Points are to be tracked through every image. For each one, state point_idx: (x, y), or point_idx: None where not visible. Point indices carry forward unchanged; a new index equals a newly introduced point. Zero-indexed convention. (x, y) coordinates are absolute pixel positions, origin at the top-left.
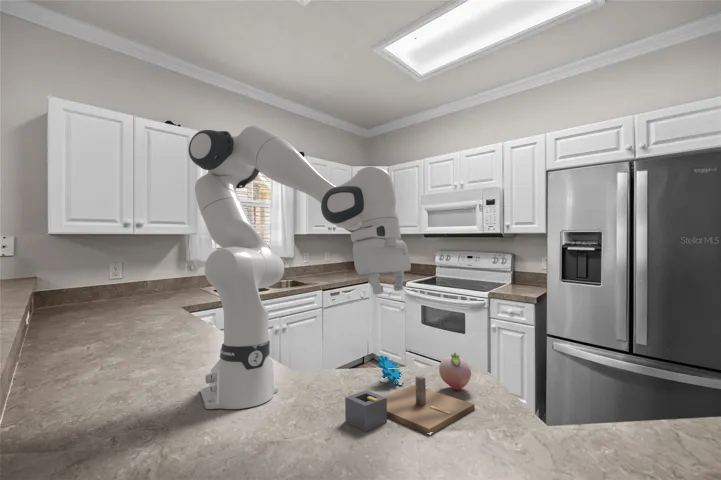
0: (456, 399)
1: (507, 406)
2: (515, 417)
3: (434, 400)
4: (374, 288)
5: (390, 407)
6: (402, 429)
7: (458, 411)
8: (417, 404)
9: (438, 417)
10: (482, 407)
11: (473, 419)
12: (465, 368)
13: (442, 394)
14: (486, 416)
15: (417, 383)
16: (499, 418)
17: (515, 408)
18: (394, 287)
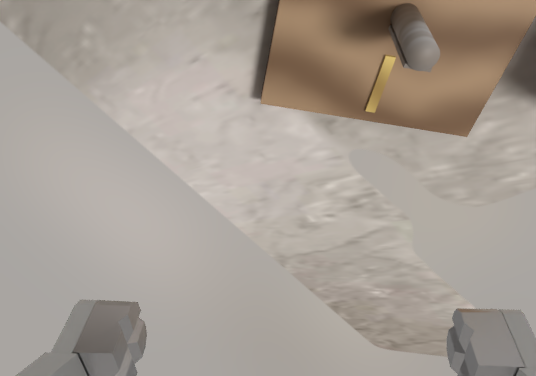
0: (484, 92)
1: (514, 178)
2: (451, 199)
3: (450, 43)
4: (64, 347)
5: None
6: (247, 31)
7: (397, 121)
8: (391, 14)
9: (333, 96)
10: (485, 138)
11: (398, 141)
12: None
13: (516, 43)
14: (429, 157)
15: (403, 46)
16: (430, 178)
17: (507, 192)
18: (472, 334)
